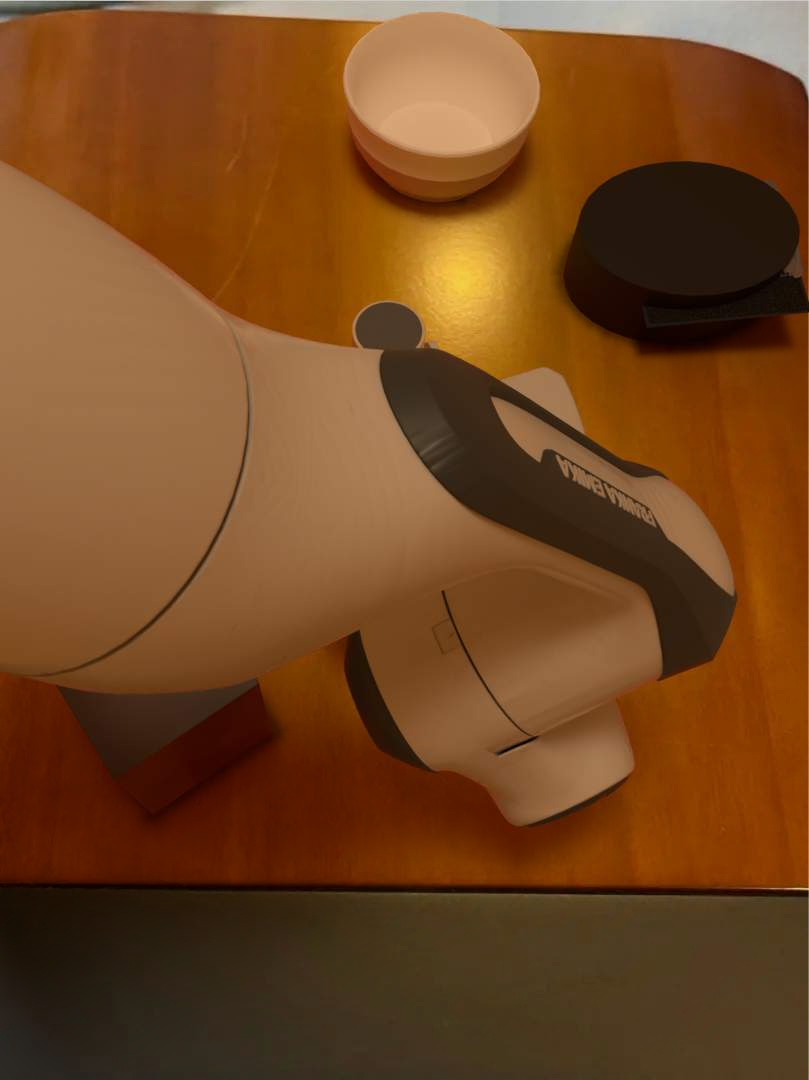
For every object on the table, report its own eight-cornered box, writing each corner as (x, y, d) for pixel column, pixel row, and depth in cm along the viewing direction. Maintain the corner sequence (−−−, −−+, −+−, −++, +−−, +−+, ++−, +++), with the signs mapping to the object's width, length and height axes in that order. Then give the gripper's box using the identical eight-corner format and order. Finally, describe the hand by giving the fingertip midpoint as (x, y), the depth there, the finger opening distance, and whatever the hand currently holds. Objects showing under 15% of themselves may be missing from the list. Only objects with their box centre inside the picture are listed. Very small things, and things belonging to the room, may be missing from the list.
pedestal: (153, 814, 63) (114, 780, 52) (82, 701, 66) (31, 646, 55) (272, 732, 66) (259, 683, 55) (200, 627, 68) (173, 559, 57)
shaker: (392, 456, 67) (400, 372, 58) (338, 424, 68) (337, 336, 58) (426, 410, 68) (439, 321, 59) (373, 379, 69) (378, 287, 60)
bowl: (361, 237, 83) (363, 165, 75) (327, 97, 89) (326, 19, 82) (544, 214, 85) (564, 143, 78) (499, 79, 91) (513, 2, 84)
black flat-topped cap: (549, 225, 86) (561, 163, 79) (753, 207, 86) (783, 144, 79) (577, 370, 80) (593, 317, 74) (794, 349, 81) (831, 295, 74)
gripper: (633, 469, 58) (536, 286, 63) (298, 582, 54) (222, 377, 58) (607, 516, 63) (519, 345, 68) (303, 621, 59) (233, 431, 64)
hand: (380, 360), depth 63 cm, fingers closed on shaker, 4 cm apart
